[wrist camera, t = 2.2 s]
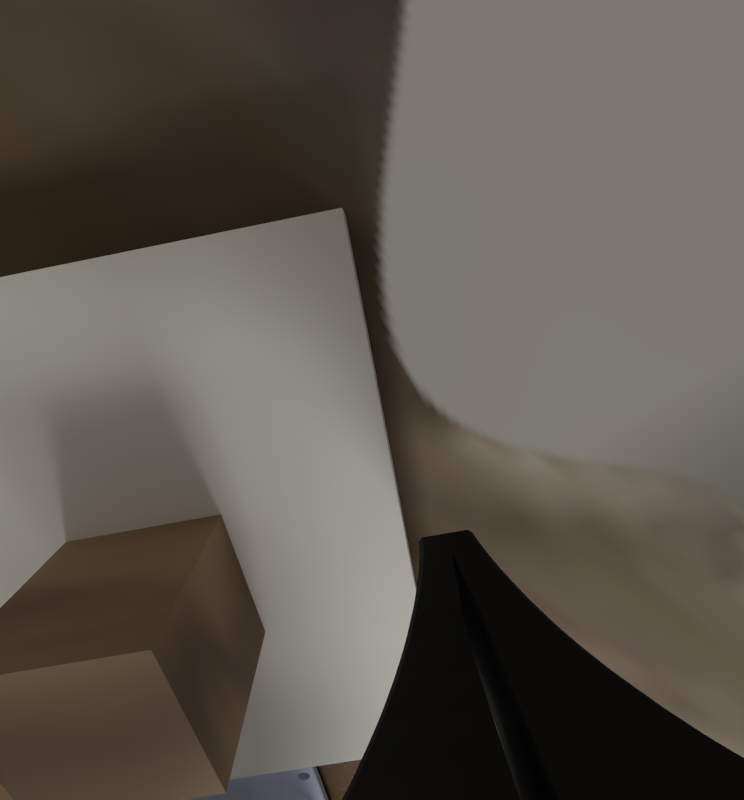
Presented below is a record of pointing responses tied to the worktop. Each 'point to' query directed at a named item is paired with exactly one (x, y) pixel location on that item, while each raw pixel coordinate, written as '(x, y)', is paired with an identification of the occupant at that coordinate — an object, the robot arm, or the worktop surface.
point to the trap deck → (222, 453)
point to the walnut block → (128, 667)
